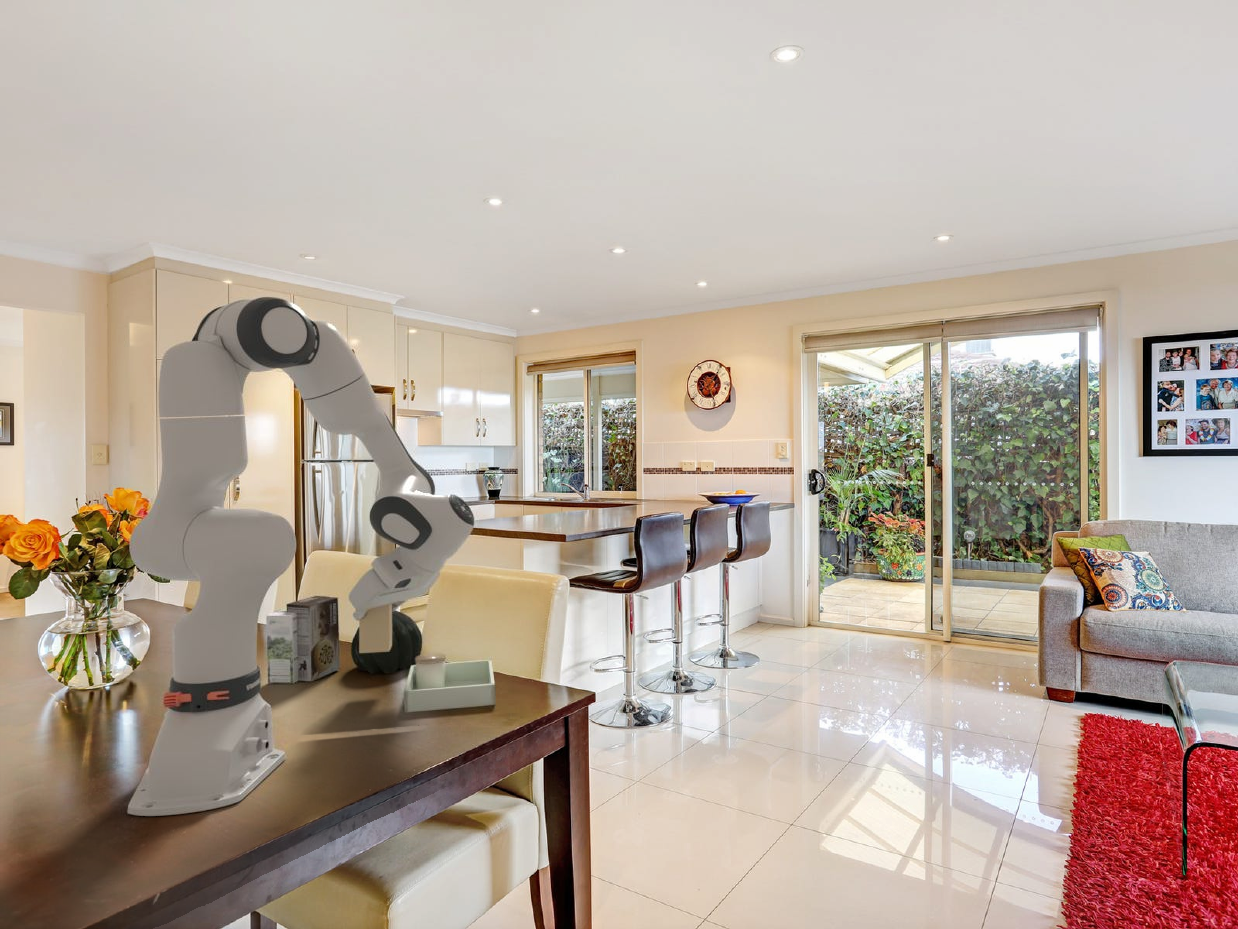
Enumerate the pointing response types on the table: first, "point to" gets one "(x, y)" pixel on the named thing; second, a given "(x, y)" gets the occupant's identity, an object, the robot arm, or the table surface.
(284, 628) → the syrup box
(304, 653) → the coffee box
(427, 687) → the jar
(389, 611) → the carton
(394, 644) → the squash
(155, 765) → the robot arm
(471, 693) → the tray
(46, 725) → the table surface
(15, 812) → the table surface
